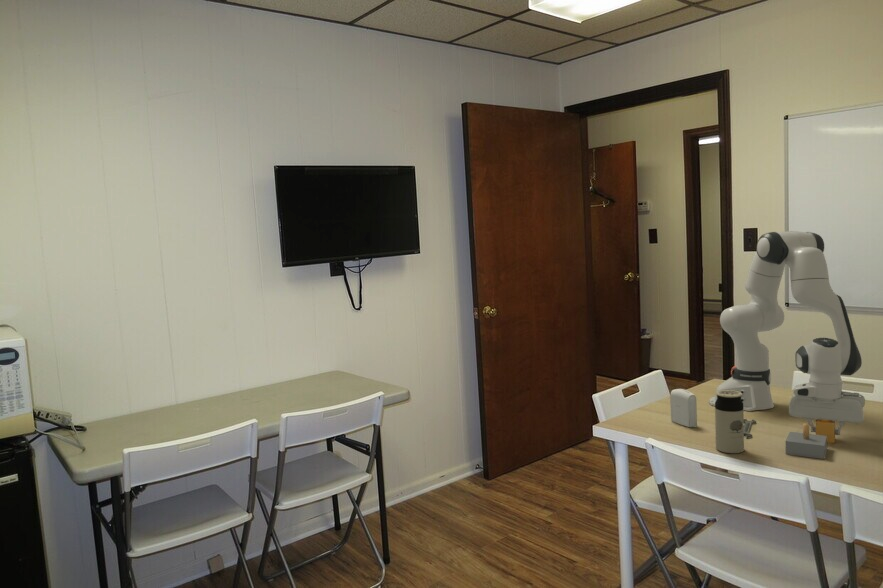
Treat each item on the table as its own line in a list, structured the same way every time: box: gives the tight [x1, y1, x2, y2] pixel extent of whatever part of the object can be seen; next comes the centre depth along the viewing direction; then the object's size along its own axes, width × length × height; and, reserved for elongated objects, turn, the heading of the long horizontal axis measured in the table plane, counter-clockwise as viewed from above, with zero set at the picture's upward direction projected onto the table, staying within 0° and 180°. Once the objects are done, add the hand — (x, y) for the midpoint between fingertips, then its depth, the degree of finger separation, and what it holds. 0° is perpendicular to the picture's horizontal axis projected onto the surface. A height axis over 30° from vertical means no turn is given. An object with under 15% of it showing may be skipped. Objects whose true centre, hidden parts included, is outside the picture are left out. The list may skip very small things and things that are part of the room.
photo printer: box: [669, 388, 698, 428], centre depth 225 cm, size 10×4×12 cm, turn 20°
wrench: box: [744, 418, 757, 440], centre depth 216 cm, size 5×2×20 cm
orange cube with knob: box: [815, 419, 836, 444], centre depth 202 cm, size 5×5×7 cm
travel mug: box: [714, 390, 745, 454], centre depth 197 cm, size 8×8×18 cm
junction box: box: [785, 422, 828, 460], centre depth 193 cm, size 10×10×8 cm
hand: (825, 433), depth 202 cm, fingers closed on orange cube with knob, 5 cm apart
